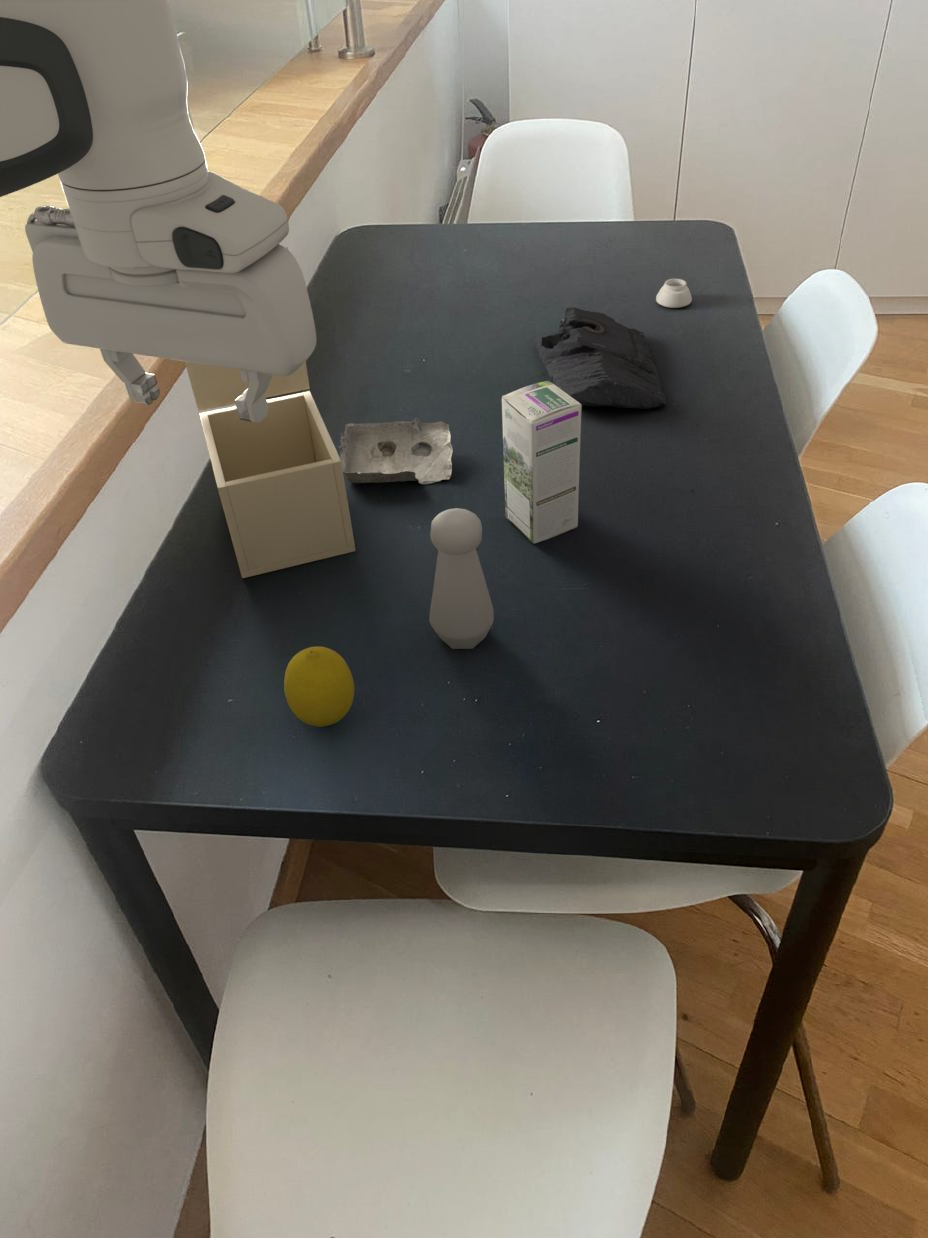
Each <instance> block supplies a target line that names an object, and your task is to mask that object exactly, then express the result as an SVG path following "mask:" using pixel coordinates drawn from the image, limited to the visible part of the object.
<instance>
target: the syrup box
mask: <svg viewBox="0 0 928 1238" xmlns="http://www.w3.org/2000/svg"><path fill="white" fill-rule="evenodd" d="M501 418H502V441H503V442H502V446H503V447H502V448H503V450H502V451H503V475H504V476H503V480H504V507H505V512H504V513H505V518H506V519H507V520H508V521H509V522H510V523H511V524H512V525H513V526H514V527H515V528H516V529H518V530H519V532H521V533H522V535H524V536H525V538H527V540H528V541H530V542H531V543H532V544H538V543H541V542H543V541H546V540H549V539H551V538H554V537H556V536H559V535H561V534H564V533H567V532H568V531H571V530H574V529H576V528H578V526H579V497H580V495H579V494H580V465H581V464H580V461H581V437H582V436H581V433H582V406H581V404H580V403H579V402H578V401H576V400H575V399H573V398H572V397H571V396H569V395H568V394H567V393H565V392H564V391H562V390H561V389H560V388H558V387H557V386H556V385H555V383H553V381H552V382H551V380H545V381H540V382H537V383H533V384H530V385H526V386H524V387H521V388H518V389H516V390H514V391H511V392H509V393H506V394H504V395H502V396H501Z"/></svg>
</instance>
